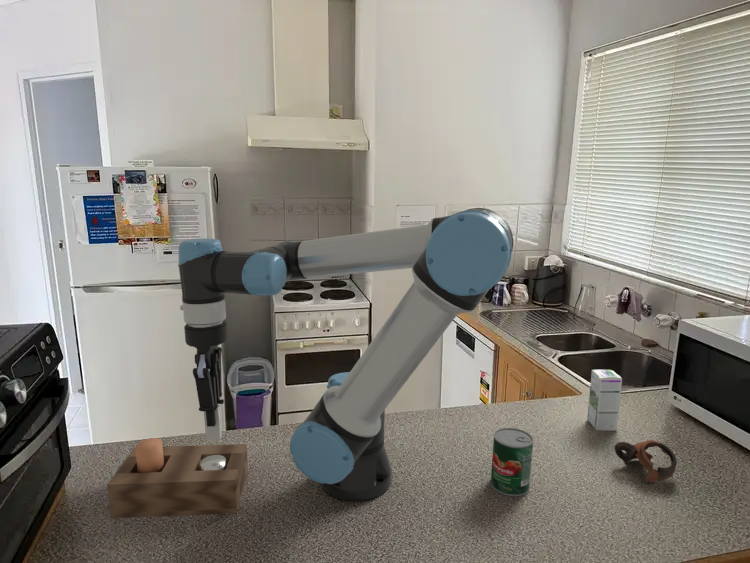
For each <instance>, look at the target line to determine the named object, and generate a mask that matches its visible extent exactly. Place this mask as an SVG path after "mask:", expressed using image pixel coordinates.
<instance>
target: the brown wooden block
mask: <svg viewBox="0 0 750 563" xmlns="http://www.w3.org/2000/svg"><path fill="white" fill-rule="evenodd" d="M211 455H221V456H224V457H225V458H226V470H207V471H201V465H200V463H201V461H202V460H203V459H204V458H206V457H208V456H211ZM163 457H164V468H163V470H162V472H149V473H138V470H137V459H136V448H135V447H133V449H132V450H131V451H130V452H129V453H128V456H127V457H125V460H124V461H123V462H122V464H121V465H120V466H119V467H118V469H117V471H115V473H114V474H113V476H112V477H111V479H110V480H109V481H108V482H107V484H106V486H107V496H108V497H107V498H108V506H109V507H108V508H109V516H110V519H131V518H132V519H134V518H151V517H152V518H157V517H177V516H178V517H179V516H180V517H181V516H199V515H200V516H201V515H205V516H206V515H223V514H224V515H226V514H227V515H228V514H229V515H230V514H237V513H238V511H239V508H240V504H241V502H242V501H241V500H242V497H243V493H244V491H245V486H246V483H247V479H248V476H249V466H248V465H249V464H248V461H249V460H248V444H247V443H242V444H241V443H238V444H237V443H236V444H210V445H209V444H206V445H178V446H177V445H176V446H175V445H173V446H170V445H169V446H163Z"/></svg>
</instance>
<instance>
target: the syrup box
mask: <svg viewBox="0 0 750 563" xmlns="http://www.w3.org/2000/svg"><path fill="white" fill-rule="evenodd" d="M590 376H591V378H590V386H589V388H590V389H589V395H588V396H589V398H588V406H587V407H588V408H587V419H586V420H587V422H588V423H589V424H590V425H591V426H592V427H593V429H594V430H596V431H601V432H602V431H603V432H604V431H607V432H608V431H609V432H610V431H611V432H613V431H615V432H617V431H618V422H619V413H620V404H621V395H622V394H621V393H622V385H623V384H622V383H623V378H622V377H621V375H619V374H617V373H616V372H615V371H614V370H613V369H591V374H590Z"/></svg>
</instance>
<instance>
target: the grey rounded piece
mask: <svg viewBox="0 0 750 563" xmlns="http://www.w3.org/2000/svg"><path fill="white" fill-rule="evenodd" d="M200 465H201V471H207V470H226V458H225V457H224V456H221V455H211V456H208V457H206V458H204V459H203V460H202V461H201V463H200Z"/></svg>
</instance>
